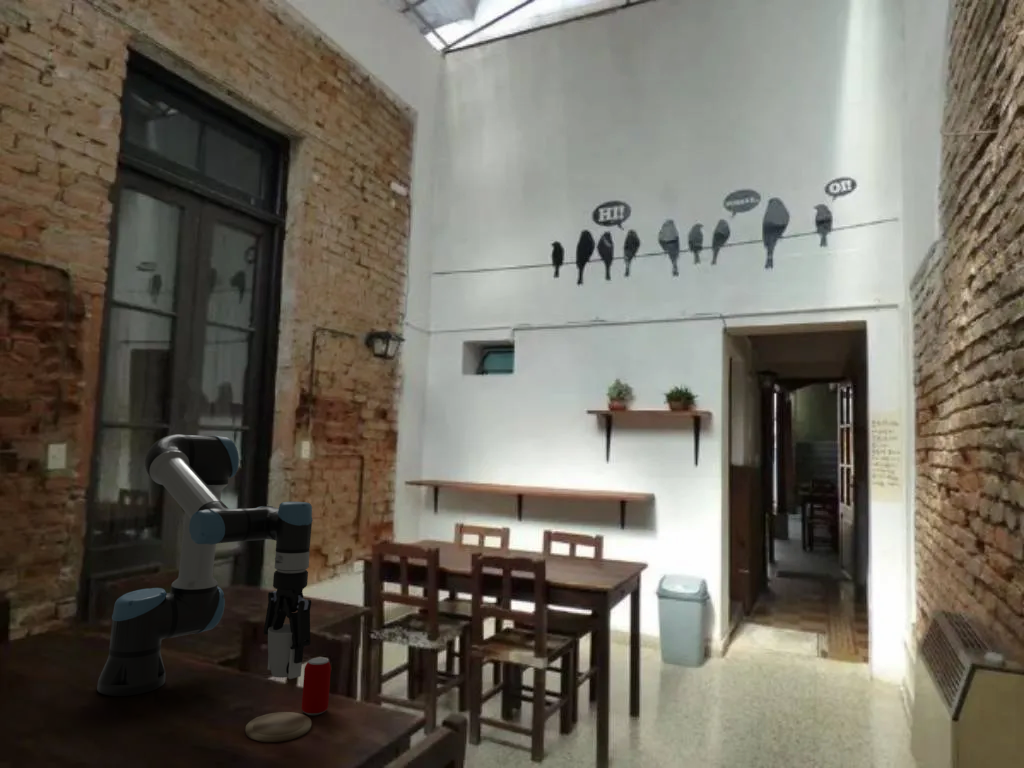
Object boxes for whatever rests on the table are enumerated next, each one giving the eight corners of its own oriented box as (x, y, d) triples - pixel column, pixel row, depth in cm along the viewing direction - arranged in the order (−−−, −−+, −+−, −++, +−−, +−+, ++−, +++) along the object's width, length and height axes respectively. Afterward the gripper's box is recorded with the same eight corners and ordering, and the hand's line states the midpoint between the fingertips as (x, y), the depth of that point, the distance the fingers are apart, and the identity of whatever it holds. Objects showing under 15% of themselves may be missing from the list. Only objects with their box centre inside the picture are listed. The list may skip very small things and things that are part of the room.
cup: (290, 681, 144) (293, 634, 145) (257, 677, 146) (260, 631, 147) (308, 670, 152) (311, 625, 153) (277, 666, 154) (280, 622, 155)
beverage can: (313, 705, 162) (317, 654, 163) (333, 710, 159) (336, 659, 160) (295, 713, 156) (299, 661, 158) (315, 719, 154) (319, 666, 155)
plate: (233, 728, 147) (233, 724, 147) (288, 710, 158) (288, 706, 158) (267, 748, 138) (268, 743, 138) (323, 728, 149) (323, 724, 149)
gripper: (252, 565, 155) (244, 666, 153) (303, 578, 142) (295, 688, 140) (280, 562, 161) (273, 658, 158) (332, 574, 148) (325, 679, 146)
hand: (283, 672), depth 149 cm, fingers closed on cup, 8 cm apart
